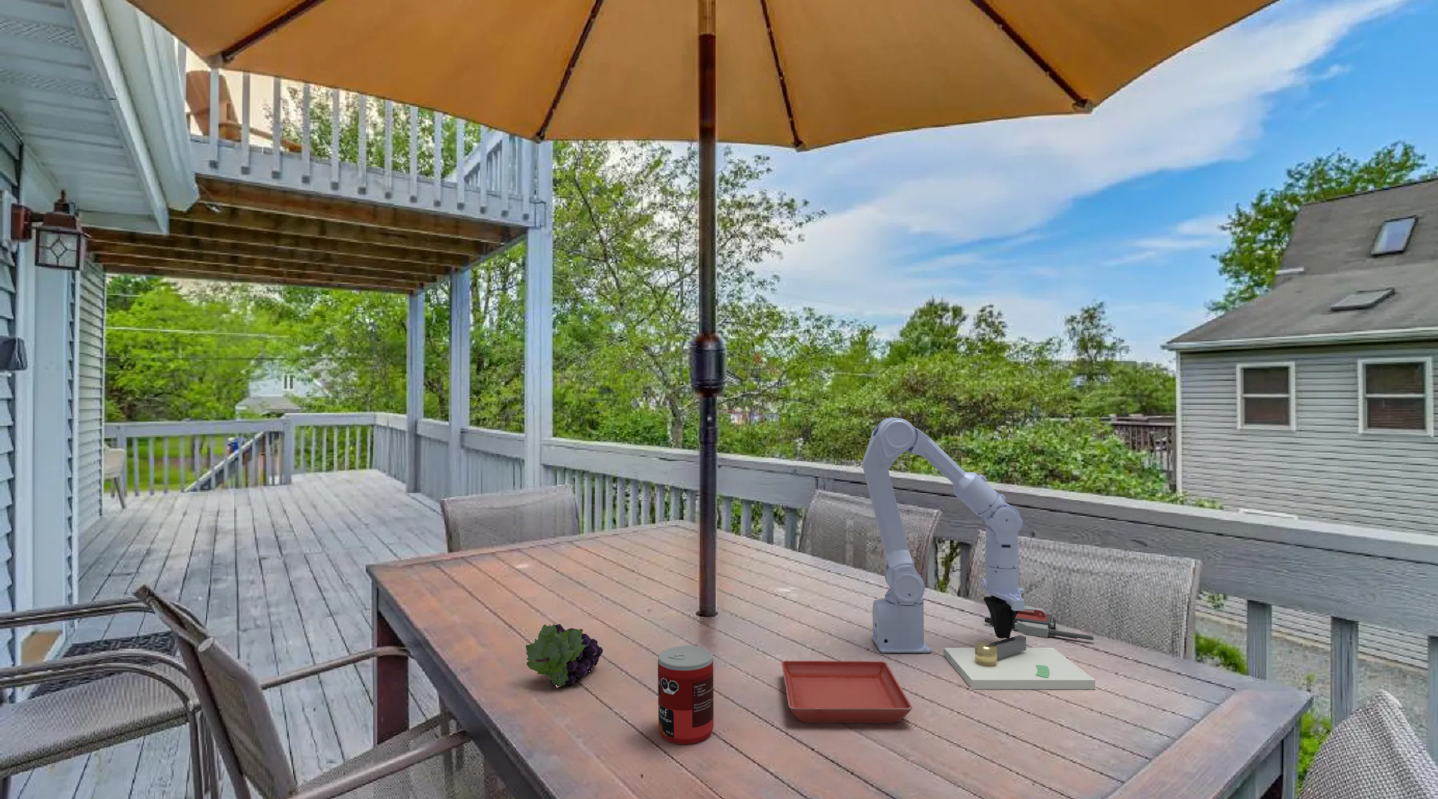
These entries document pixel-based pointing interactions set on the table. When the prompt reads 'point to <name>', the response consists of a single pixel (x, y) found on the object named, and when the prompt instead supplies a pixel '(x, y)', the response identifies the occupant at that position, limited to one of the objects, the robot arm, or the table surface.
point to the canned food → (685, 694)
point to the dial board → (1020, 670)
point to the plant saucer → (844, 692)
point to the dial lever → (998, 649)
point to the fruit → (563, 654)
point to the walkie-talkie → (1039, 624)
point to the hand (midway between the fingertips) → (1002, 637)
